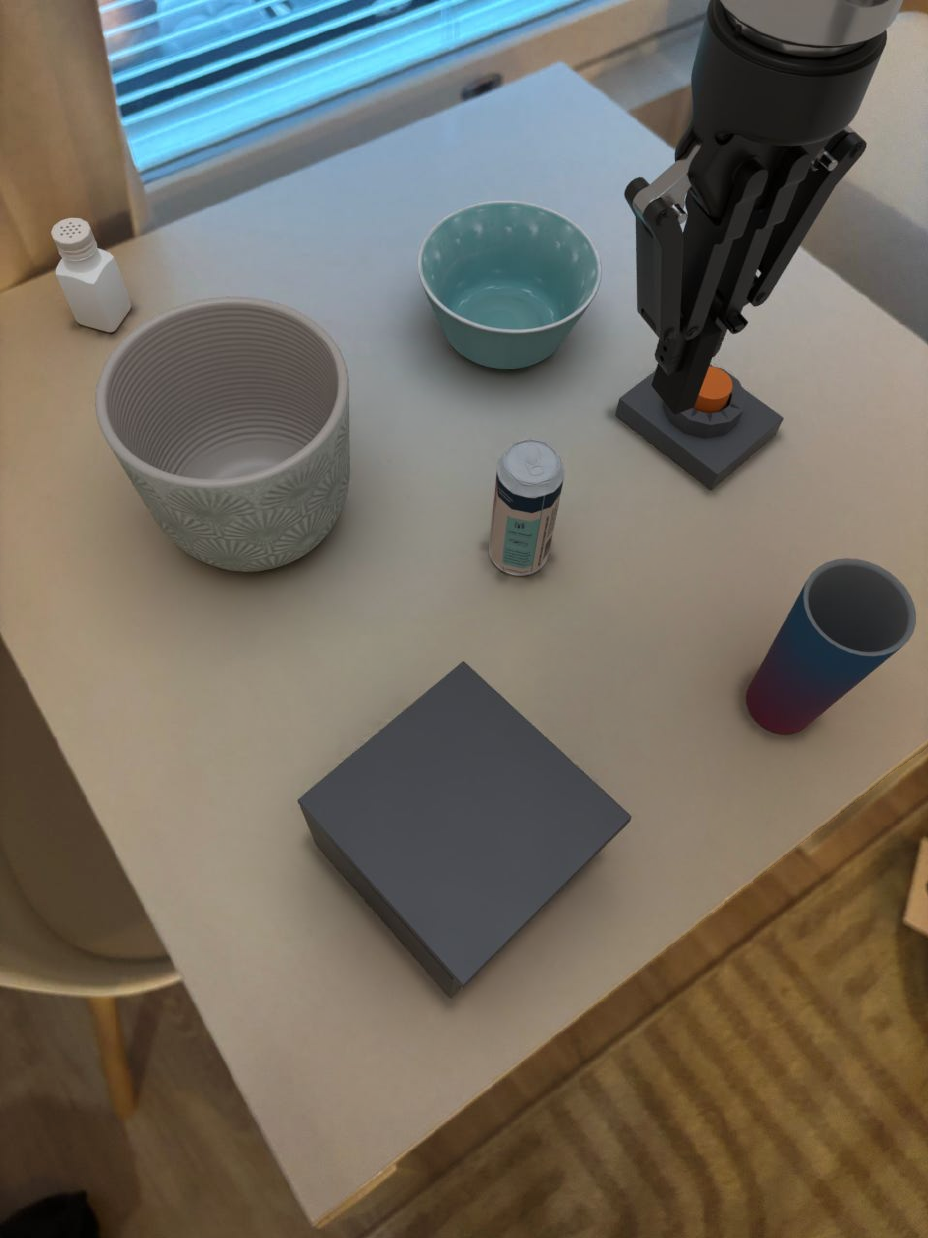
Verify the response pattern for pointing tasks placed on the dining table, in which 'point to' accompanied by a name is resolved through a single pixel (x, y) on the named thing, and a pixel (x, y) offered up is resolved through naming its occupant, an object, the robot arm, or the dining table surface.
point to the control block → (701, 429)
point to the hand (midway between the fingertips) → (672, 395)
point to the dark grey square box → (384, 911)
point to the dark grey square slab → (464, 819)
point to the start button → (714, 391)
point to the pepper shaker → (89, 277)
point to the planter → (232, 428)
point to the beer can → (525, 506)
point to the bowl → (508, 280)
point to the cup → (830, 643)
